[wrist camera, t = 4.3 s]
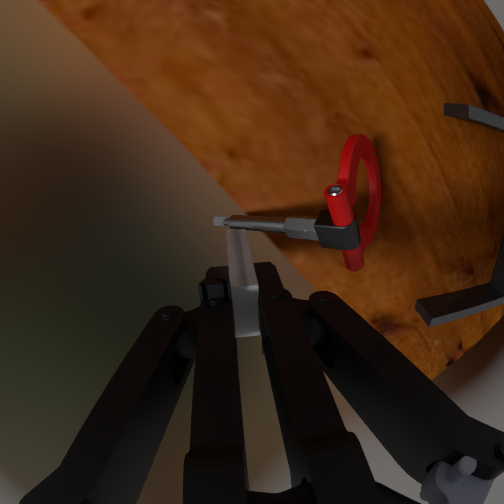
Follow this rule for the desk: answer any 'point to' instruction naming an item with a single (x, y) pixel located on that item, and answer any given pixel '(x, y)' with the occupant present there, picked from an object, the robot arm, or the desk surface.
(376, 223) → the tow hook
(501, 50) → the desk surface
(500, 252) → the bracket
